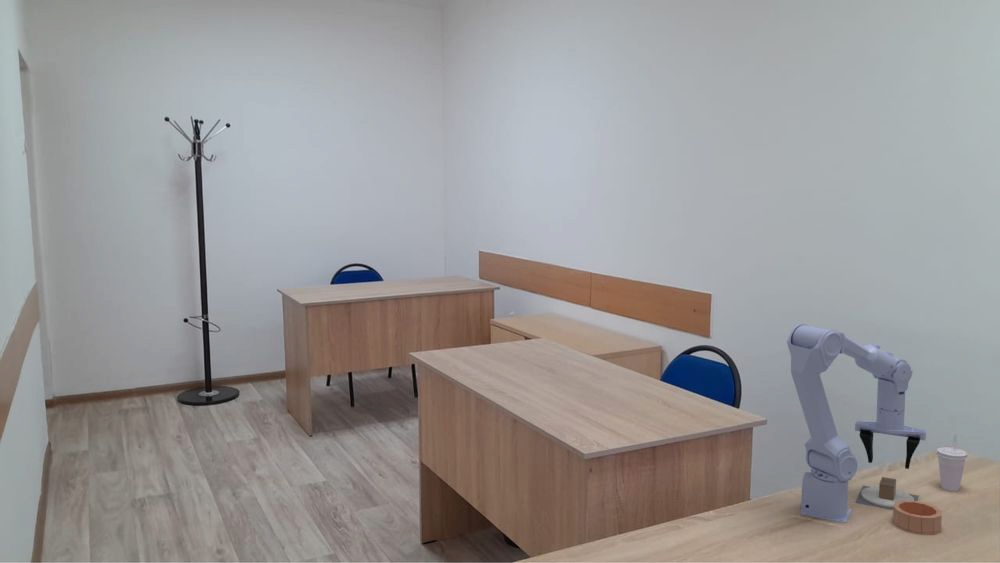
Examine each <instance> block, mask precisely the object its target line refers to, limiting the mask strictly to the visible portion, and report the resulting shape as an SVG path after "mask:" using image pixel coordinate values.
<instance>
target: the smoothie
mask: <svg viewBox="0 0 1000 563" xmlns="http://www.w3.org/2000/svg"><path fill="white" fill-rule="evenodd" d="M957 436H958V435H957V434H955V433H954V434H953V446H952V447H948V446H946V447H939V448H938V447H937V449H936V451H935V452H936V455H937V456H938V457H937V459H938V468H939V478H940V487H941V489H942V490H944V491H948V492H959V491H960V489H961V488H960V487H961V482H962V479H963V475H964V474H963V473H964V468H965V463H966V459H968V453H967V451H965V450H963V449H959V448H957Z"/></svg>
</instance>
